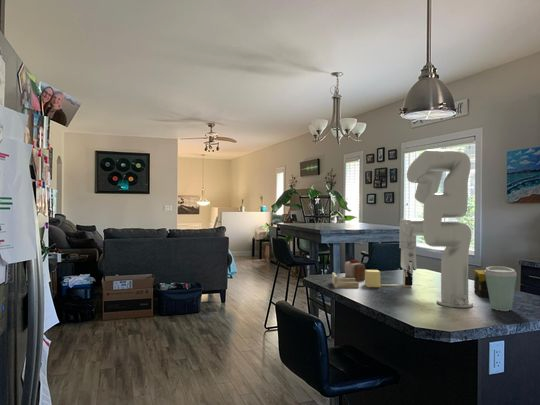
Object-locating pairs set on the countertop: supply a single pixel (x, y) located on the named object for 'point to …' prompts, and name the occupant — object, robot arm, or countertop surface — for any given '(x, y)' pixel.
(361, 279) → the food item
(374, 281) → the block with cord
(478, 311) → the countertop surface
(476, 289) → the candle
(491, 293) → the disposable coffee cup
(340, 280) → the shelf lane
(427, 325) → the countertop surface
